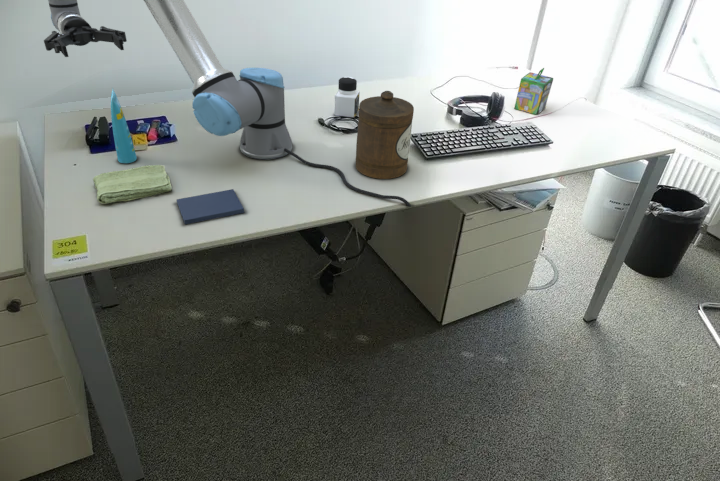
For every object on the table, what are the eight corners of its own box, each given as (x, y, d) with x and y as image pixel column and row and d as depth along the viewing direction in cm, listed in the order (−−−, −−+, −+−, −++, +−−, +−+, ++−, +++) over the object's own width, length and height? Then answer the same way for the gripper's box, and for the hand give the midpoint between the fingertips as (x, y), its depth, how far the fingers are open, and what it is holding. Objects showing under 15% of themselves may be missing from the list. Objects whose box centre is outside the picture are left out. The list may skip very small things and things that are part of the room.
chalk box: (522, 102, 196) (531, 62, 187) (545, 108, 192) (556, 68, 183) (512, 109, 190) (522, 68, 181) (537, 115, 186) (547, 74, 177)
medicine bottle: (354, 118, 176) (356, 83, 169) (334, 115, 177) (334, 80, 170) (358, 110, 182) (360, 76, 175) (339, 108, 183) (339, 74, 176)
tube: (138, 164, 143) (123, 96, 132) (119, 167, 141) (102, 98, 130) (135, 152, 148) (120, 86, 137) (116, 155, 146) (100, 88, 135)
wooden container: (411, 179, 143) (420, 102, 130) (357, 179, 141) (361, 101, 129) (403, 155, 155) (410, 82, 142) (353, 154, 153) (356, 81, 141)
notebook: (233, 193, 133) (233, 188, 132) (244, 212, 125) (243, 208, 125) (177, 203, 127) (176, 199, 127) (184, 224, 120) (184, 220, 120)
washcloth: (175, 193, 131) (173, 181, 129) (99, 207, 124) (95, 196, 122) (164, 170, 141) (162, 159, 139) (93, 183, 133) (90, 171, 132)
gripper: (123, 37, 157) (145, 56, 143) (30, 48, 144) (45, 69, 131) (117, 11, 152) (140, 27, 139) (21, 19, 140) (35, 38, 126)
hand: (94, 48), depth 135 cm, fingers open, 13 cm apart
